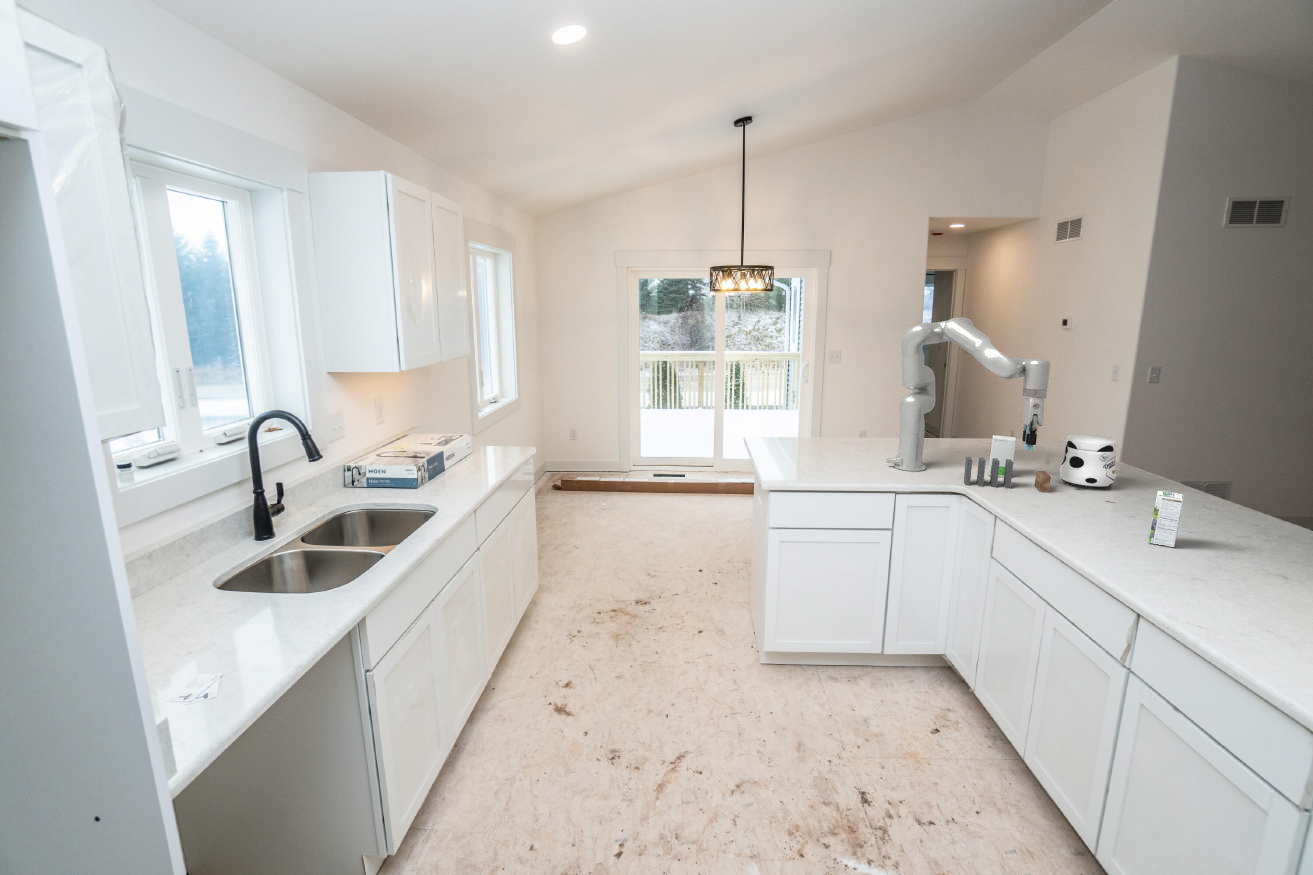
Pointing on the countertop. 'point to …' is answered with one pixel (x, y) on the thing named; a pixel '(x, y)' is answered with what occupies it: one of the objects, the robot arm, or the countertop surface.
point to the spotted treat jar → (1089, 461)
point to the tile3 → (994, 472)
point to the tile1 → (967, 470)
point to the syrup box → (1166, 518)
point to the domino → (1027, 447)
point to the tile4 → (1008, 473)
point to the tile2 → (981, 471)
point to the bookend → (1042, 481)
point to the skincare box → (1002, 452)
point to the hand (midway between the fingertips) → (1028, 442)
